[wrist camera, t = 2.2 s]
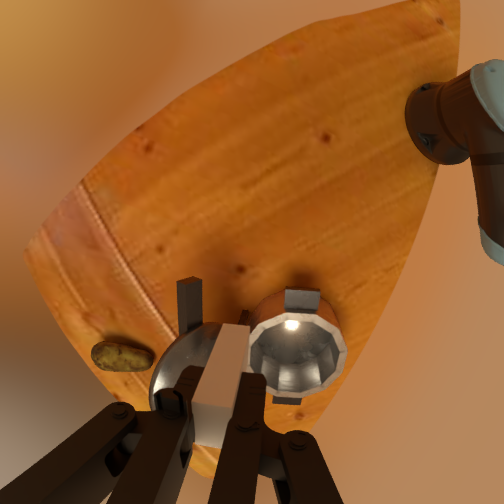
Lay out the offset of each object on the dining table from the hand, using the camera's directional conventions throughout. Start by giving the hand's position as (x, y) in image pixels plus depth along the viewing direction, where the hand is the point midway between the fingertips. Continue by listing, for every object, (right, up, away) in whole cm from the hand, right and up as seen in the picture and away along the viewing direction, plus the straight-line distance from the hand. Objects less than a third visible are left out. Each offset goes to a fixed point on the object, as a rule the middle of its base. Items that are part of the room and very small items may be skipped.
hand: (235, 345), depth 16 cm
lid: (-5, -9, +19) cm, 22 cm away
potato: (-26, -16, +41) cm, 51 cm away
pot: (+8, -9, +35) cm, 37 cm away
